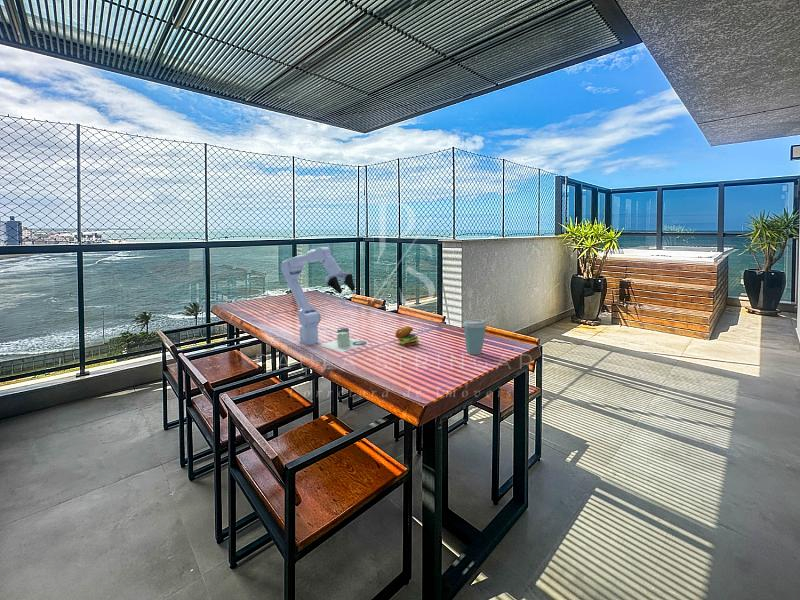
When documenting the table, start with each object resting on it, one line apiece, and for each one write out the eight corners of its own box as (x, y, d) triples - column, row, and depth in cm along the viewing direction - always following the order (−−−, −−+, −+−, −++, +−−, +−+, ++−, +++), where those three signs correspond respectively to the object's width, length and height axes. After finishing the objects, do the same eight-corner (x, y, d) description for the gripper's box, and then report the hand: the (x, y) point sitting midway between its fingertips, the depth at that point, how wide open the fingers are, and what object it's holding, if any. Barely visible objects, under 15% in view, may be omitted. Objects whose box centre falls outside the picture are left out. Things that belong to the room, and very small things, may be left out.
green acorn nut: (335, 345, 184) (335, 333, 183) (344, 342, 188) (343, 331, 187) (343, 347, 180) (342, 335, 179) (351, 344, 185) (351, 333, 184)
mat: (317, 346, 185) (317, 345, 185) (346, 338, 199) (346, 337, 199) (342, 353, 173) (342, 352, 173) (371, 344, 187) (371, 343, 187)
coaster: (349, 343, 187) (349, 343, 187) (360, 340, 192) (360, 340, 192) (359, 346, 182) (359, 345, 182) (369, 343, 187) (369, 342, 187)
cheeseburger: (417, 347, 181) (412, 327, 179) (396, 351, 183) (391, 331, 182) (420, 341, 190) (415, 322, 189) (400, 345, 193) (395, 326, 192)
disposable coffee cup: (459, 354, 169) (460, 322, 166) (465, 348, 179) (465, 317, 176) (483, 357, 165) (484, 323, 162) (487, 350, 175) (488, 318, 172)
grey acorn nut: (335, 340, 193) (335, 329, 192) (344, 338, 197) (343, 326, 196) (343, 342, 189) (342, 330, 188) (351, 339, 194) (350, 328, 193)
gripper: (323, 264, 166) (339, 288, 162) (348, 261, 177) (363, 283, 173) (317, 274, 170) (332, 297, 166) (341, 270, 181) (355, 292, 177)
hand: (347, 291), depth 170 cm, fingers open, 7 cm apart
